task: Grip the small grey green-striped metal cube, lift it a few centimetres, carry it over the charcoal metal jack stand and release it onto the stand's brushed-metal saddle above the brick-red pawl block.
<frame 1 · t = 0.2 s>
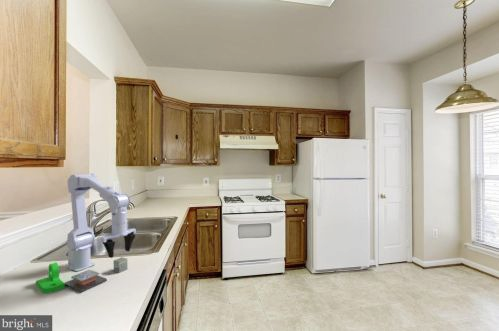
hand: (119, 253, 102), 10 cm above the worktop, tool pointing down, fingers open, 7 cm apart
green-striped metal cube: (120, 270, 108), on the worktop
mechanical part: (50, 287, 94), on the worktop
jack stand: (85, 283, 97), on the worktop
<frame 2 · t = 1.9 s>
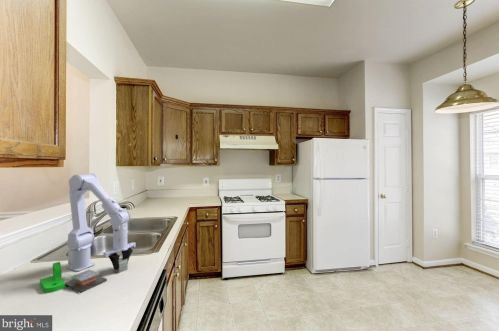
hand: (120, 267, 108), 1 cm above the worktop, tool pointing down, fingers closed on green-striped metal cube, 4 cm apart
green-striped metal cube: (120, 270, 108), on the worktop, touching gripper
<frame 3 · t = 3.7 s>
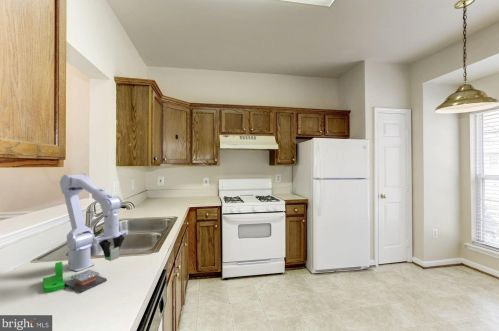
hand: (111, 254, 105), 8 cm above the worktop, tool pointing down, fingers closed on green-striped metal cube, 4 cm apart
green-striped metal cube: (112, 258, 105), point 7 cm above the worktop, touching gripper
when the fingers open (6 cm above the worktop, at t = 5.4 s): green-striped metal cube stays where it is, resting on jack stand.
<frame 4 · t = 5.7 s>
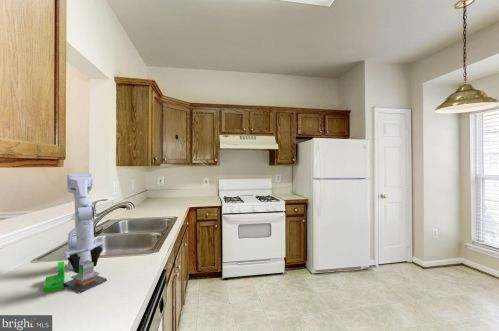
hand: (85, 269, 97), 6 cm above the worktop, tool pointing down, fingers open, 6 cm apart
green-striped metal cube: (85, 274, 97), point 3 cm above the worktop, touching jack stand
mechanical part: (54, 286, 95), on the worktop, touching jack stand
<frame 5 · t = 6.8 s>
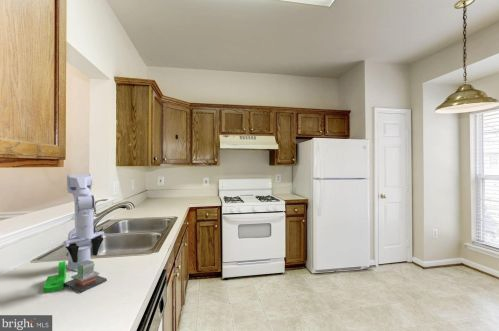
hand: (85, 258, 97), 10 cm above the worktop, tool pointing down, fingers open, 7 cm apart
nothing on the worktop moved.
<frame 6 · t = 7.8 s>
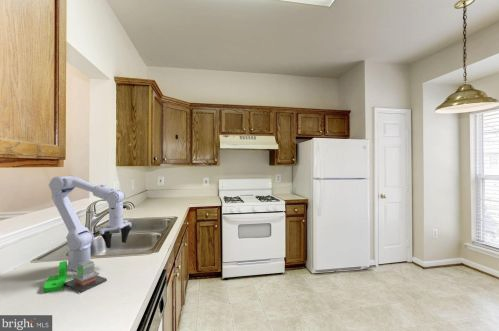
hand: (116, 244, 112), 10 cm above the worktop, tool pointing down, fingers open, 7 cm apart
mechanical part: (55, 285, 96), on the worktop
everything else where it was.
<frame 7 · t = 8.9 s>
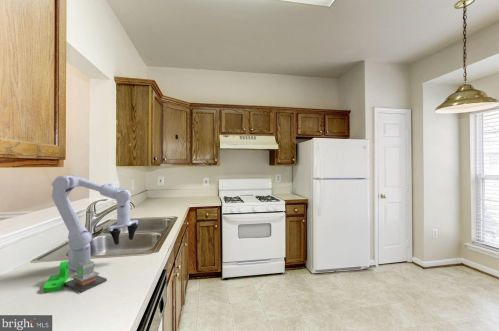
hand: (123, 241, 116), 10 cm above the worktop, tool pointing down, fingers open, 7 cm apart
nothing on the worktop moved.
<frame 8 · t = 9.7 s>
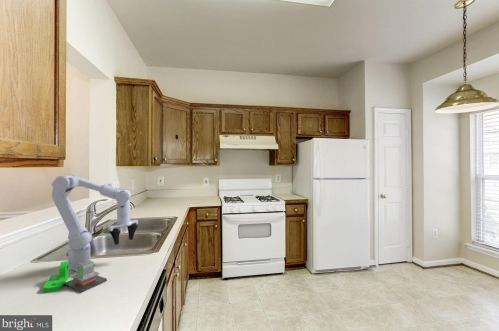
hand: (123, 241, 116), 10 cm above the worktop, tool pointing down, fingers open, 7 cm apart
mechanical part: (56, 285, 96), on the worktop, touching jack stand
everything else where it was.
at the end: green-striped metal cube 0.1 cm off-centre on the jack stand, point 3.5 cm above the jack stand's base; green-striped metal cube tilted 0°; the gripper is holding nothing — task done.
